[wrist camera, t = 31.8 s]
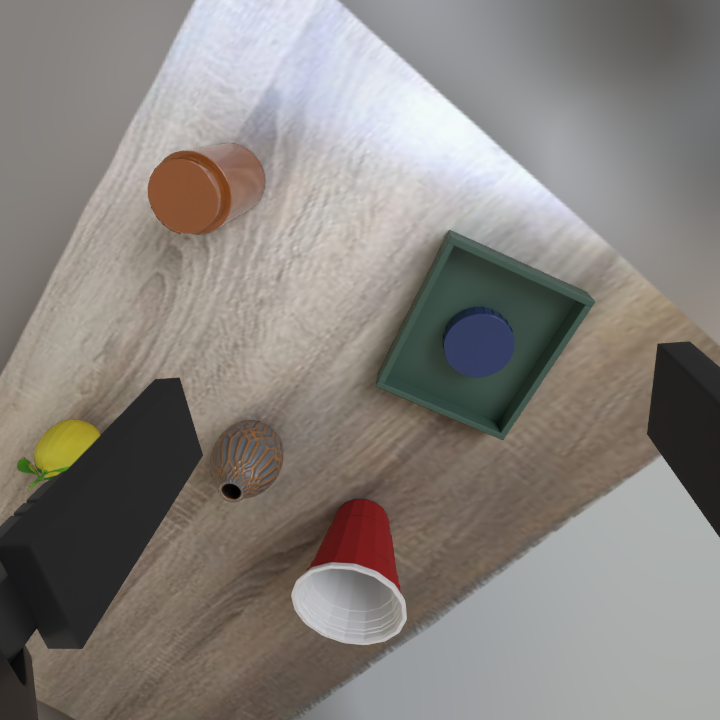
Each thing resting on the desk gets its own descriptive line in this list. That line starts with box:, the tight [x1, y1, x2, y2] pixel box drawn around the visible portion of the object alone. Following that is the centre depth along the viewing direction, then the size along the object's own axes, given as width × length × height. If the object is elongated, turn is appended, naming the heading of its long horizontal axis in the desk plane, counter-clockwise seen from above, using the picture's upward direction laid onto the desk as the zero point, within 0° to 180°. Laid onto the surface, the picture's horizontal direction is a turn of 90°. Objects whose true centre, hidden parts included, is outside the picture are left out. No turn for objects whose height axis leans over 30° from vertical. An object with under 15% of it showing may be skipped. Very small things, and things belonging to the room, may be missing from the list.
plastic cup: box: [291, 499, 407, 645], centre depth 54 cm, size 11×11×12 cm
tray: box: [376, 230, 595, 440], centre depth 47 cm, size 15×13×2 cm
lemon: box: [17, 419, 101, 489], centre depth 53 cm, size 7×6×10 cm
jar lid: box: [442, 307, 515, 377], centre depth 47 cm, size 6×6×2 cm
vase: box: [210, 420, 283, 502], centre depth 52 cm, size 7×7×9 cm
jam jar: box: [148, 143, 265, 235], centre depth 40 cm, size 6×6×11 cm
